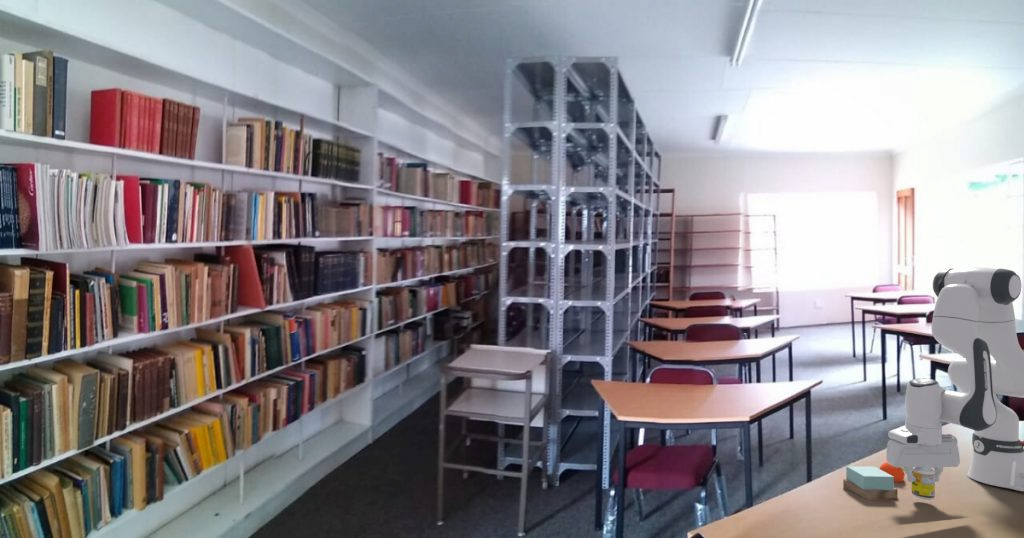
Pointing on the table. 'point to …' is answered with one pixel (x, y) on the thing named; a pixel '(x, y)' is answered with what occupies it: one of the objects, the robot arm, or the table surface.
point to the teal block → (869, 478)
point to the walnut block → (870, 491)
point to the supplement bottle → (924, 482)
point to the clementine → (893, 471)
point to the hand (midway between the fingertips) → (923, 481)
